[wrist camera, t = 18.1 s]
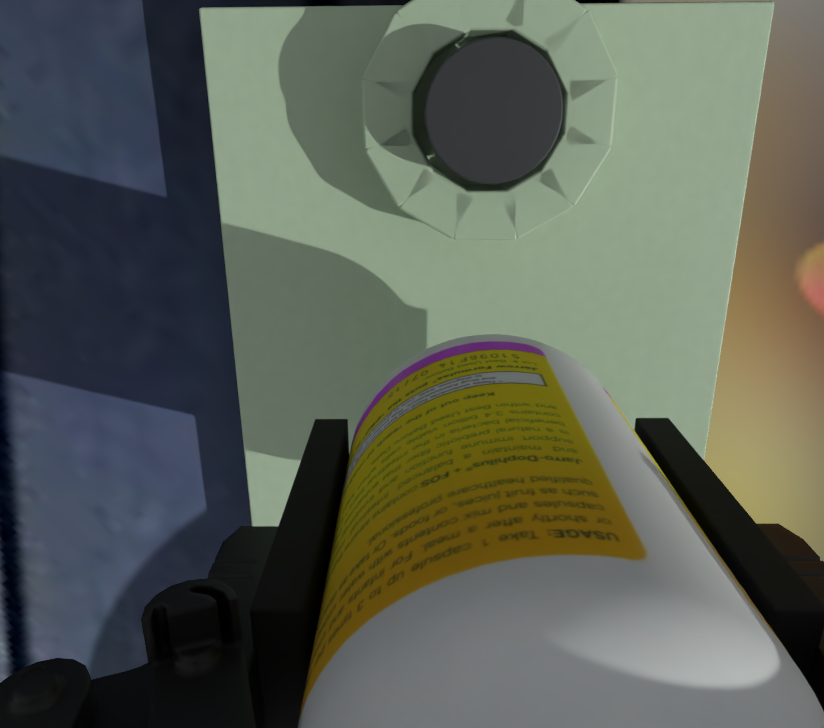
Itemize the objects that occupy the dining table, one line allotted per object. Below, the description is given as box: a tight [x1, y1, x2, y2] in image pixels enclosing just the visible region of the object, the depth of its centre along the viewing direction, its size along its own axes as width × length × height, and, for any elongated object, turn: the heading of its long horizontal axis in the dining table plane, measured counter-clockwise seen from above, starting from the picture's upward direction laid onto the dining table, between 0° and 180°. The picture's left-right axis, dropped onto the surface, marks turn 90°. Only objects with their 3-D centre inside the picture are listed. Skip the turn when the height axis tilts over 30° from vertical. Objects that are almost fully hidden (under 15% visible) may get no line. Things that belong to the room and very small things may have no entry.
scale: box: [199, 0, 774, 526], centre depth 19 cm, size 16×14×3 cm
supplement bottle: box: [298, 334, 824, 728], centre depth 11 cm, size 7×7×13 cm
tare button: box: [424, 37, 563, 184], centre depth 15 cm, size 3×3×2 cm
